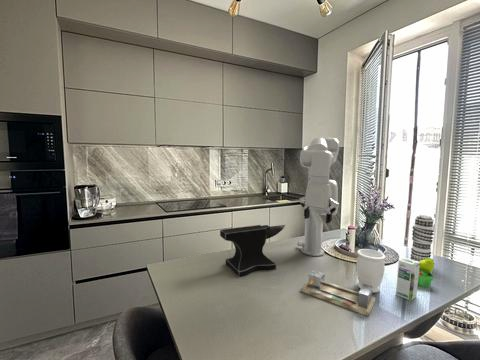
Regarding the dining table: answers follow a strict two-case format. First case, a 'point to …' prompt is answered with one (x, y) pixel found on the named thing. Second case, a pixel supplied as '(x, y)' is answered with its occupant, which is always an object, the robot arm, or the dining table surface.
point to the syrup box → (407, 278)
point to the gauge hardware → (364, 294)
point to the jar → (370, 268)
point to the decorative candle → (422, 238)
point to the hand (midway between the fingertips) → (317, 220)
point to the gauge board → (339, 300)
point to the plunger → (316, 279)
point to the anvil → (250, 248)
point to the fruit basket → (425, 272)
